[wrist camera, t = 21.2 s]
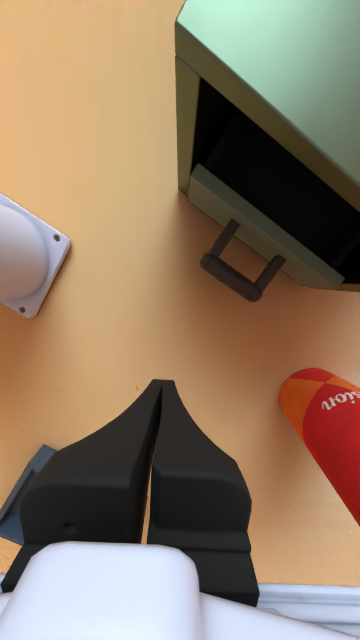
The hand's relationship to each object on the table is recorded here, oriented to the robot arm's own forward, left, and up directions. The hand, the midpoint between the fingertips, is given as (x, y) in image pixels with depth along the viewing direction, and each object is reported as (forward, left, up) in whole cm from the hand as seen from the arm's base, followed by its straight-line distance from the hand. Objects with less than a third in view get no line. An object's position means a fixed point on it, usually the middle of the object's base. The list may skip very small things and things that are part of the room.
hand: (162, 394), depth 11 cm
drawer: (0, +15, -5) cm, 16 cm away
